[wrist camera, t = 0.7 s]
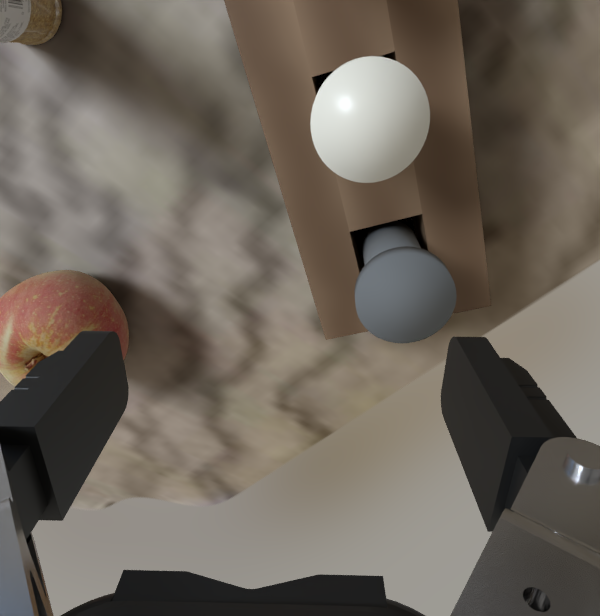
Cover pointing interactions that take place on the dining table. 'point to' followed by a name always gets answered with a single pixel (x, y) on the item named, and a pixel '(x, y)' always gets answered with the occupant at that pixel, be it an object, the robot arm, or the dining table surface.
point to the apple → (53, 318)
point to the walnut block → (354, 195)
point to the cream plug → (370, 119)
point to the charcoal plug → (402, 286)
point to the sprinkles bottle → (29, 20)
